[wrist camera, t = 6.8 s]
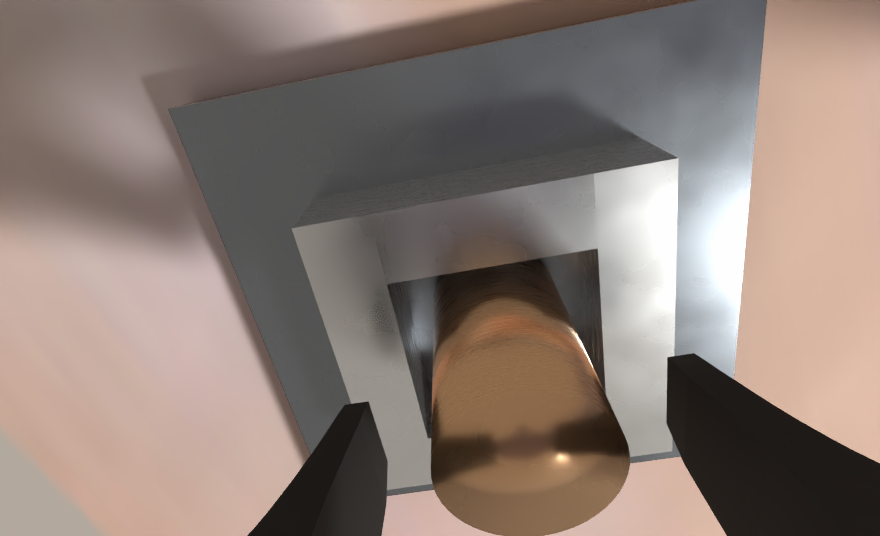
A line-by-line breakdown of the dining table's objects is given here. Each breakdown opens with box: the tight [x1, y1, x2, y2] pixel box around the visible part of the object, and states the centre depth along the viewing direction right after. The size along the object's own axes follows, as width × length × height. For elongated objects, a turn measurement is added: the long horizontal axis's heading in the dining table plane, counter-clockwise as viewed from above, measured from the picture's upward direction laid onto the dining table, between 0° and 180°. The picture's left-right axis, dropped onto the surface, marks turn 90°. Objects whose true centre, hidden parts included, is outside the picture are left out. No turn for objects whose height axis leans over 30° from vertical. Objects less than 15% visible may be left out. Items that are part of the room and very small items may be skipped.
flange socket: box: [168, 0, 767, 496], centre depth 16 cm, size 16×16×4 cm
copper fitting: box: [431, 259, 630, 536], centre depth 13 cm, size 4×4×7 cm
